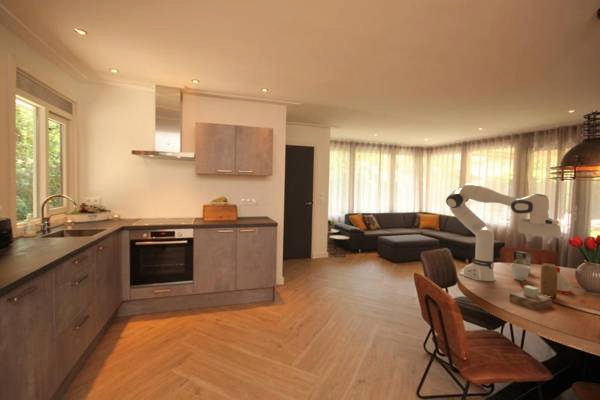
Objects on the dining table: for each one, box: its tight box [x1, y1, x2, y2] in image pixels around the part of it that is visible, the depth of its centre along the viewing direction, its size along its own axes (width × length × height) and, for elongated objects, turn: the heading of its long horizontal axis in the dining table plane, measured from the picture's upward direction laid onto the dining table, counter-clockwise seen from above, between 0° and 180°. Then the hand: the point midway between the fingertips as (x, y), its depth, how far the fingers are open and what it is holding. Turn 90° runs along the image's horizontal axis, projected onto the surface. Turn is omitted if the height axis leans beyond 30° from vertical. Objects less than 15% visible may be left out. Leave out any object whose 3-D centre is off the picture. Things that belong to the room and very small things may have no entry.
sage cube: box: [523, 284, 540, 298], centre depth 159 cm, size 5×5×5 cm
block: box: [540, 262, 558, 298], centre depth 170 cm, size 11×8×20 cm
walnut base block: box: [509, 289, 553, 311], centre depth 159 cm, size 14×14×5 cm
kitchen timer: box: [557, 266, 572, 294], centre depth 181 cm, size 14×14×15 cm
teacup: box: [509, 262, 532, 281], centre depth 203 cm, size 12×15×10 cm
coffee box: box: [513, 250, 532, 274], centre depth 219 cm, size 9×6×16 cm
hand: (538, 242), depth 168 cm, fingers open, 8 cm apart
